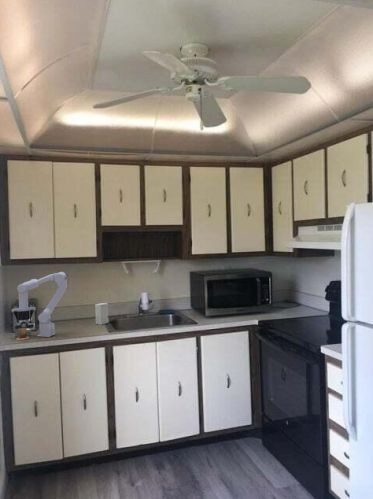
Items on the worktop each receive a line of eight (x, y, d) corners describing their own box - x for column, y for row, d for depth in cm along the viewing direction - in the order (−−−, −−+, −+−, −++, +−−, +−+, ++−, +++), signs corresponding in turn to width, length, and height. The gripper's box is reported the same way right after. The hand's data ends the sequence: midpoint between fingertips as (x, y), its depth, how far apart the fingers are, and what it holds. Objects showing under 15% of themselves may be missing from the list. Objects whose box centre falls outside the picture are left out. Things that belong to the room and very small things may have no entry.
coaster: (32, 337, 268) (31, 336, 268) (23, 340, 260) (23, 339, 260) (22, 336, 270) (22, 335, 270) (13, 339, 262) (13, 338, 262)
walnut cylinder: (28, 336, 267) (28, 327, 266) (23, 338, 262) (22, 329, 262) (22, 336, 268) (22, 327, 268) (17, 338, 264) (16, 329, 263)
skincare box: (101, 324, 298) (100, 304, 297) (95, 324, 301) (94, 304, 301) (109, 322, 305) (108, 302, 305) (103, 321, 308) (102, 302, 308)
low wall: (31, 334, 274) (31, 330, 273) (31, 335, 273) (31, 330, 272) (15, 336, 270) (15, 331, 270) (15, 336, 270) (15, 332, 269)
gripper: (35, 299, 275) (36, 319, 276) (12, 301, 271) (12, 321, 271) (35, 301, 269) (35, 321, 269) (11, 303, 264) (12, 323, 265)
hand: (24, 321), depth 270 cm, fingers open, 7 cm apart
